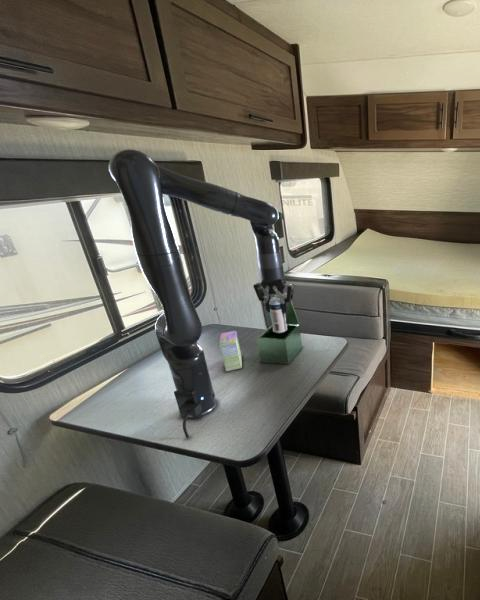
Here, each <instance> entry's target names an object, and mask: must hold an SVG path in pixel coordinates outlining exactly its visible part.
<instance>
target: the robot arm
mask: <svg viewBox="0 0 480 600" xmlns="http://www.w3.org/2000/svg"><path fill="white" fill-rule="evenodd" d="M108 172H109V173H110V176H111V178H112V179H113V180H114V181H115V183H116V184H117V186H118V189H119V191H120V193H121V195H122V199H123V201H124V203H125V206H126V208H127V211H128V215H129V219H130V229H131V230H130V231H131V237H132V244H133V248H134V251H135V254H136V258H137V261H138V265H139V268H140V270H141V272H142V275H143V276H144V278H145V280H146V282H147V283H148V285H149V287H150V288H151V290H152V291H153V292H154V294H155V295H156V297H157V299H158V300H159V302H160V305H161V307H162V311H163V312H162V313H161V314H160V315H159V317H157V319H156V322H155V326H154V333H155V335H156V339H157V342H158V344H159V347H160V350H161V353H162V355H163V358H164V359H165V360H166V362H167V364H168V367H169V370H170V374H171V377H172V380H173V383H174V387H175V390H174V391H173V395H174V398H175V400H176V404H177V408H178V411H179V414H180V417H181V418H183V421H182V430H183V434H184V436H185V438H187V439H188V438H189V437H190V435H189V433H188V432H189V431H188V430H187V420H188V419H201V417H203V416H205V415H207V414H209V413H211V412H212V411H213V410H214V409H216V407H217V404H218V402H217V398H216V392H215V391H214V387H213V383H212V379H211V375H210V372H209V371H210V370H209V368H208V367H209V366H208V362H207V359H206V354H205V352H204V349H203V348H202V346H201V345H200V344H199V343H198V341H199V340H200V338H201V336H202V334H203V325H202V322H201V319H200V316H199V314H198V311H197V309H196V307H195V304H194V302H193V299H192V295H191V292H190V287H189V284H188V283H189V282H188V280H187V276H186V272H185V268H184V263H183V259H182V255H181V252H180V248H179V244H178V240H177V238H176V235H175V233H174V229H173V227H172V224H171V221H170V219H169V216H168V213H167V211H166V210H167V209H166V206H165V201H164V195H166V196H170V197H174V198H177V199H179V200H183V201H186V202H189V203H192V204H194V205H197V206H200V207H203V208H206V209H208V210H211V211H214V212H218V213H220V214H223V215H228V216H230V217H235V218H240V219H244V220H247V221H249V224H250V228H251V231H252V234H253V236H254V239H255V248H256V255H257V256H256V257H257V258H256V259H257V265H258V271H259V279H260V280H261V281H260V282H256V283H255V284H253V286H252V287H253V289H254V292H255V294H256V296H257V298H258V301H259V302H261V301H262V302H263V303H264V302H265V304H264V306H265V310H266V312H267V313H268V314H269V313H270V307H269V302H270V299H271V297H273V296H272V295H274V296H275V295H277V296H278V298H280V300H281V302H282V304H281V306H282V313H286V312H287V311H288V302H290V301H291V300H293V299H294V293H295V284H294V283H291V284H289V283H287V282H286V280H285V271H284V261H283V257H282V253H281V247H280V240H279V236H278V234H277V233H276V232H275V230H274V227H273V225H275V224H276V223H277V222H278V220H279V217H280V216H279V211H278V209H277V208H276V206H275V205H273V203H270V202H268V201H264V200H261V199H257V198H253V197H252V196H251V197H250V196H247V195H245V194H242V193H239V192H237V191H235V190H231V189H229V188H226V187H223V186H220V185H218V184H215V183H211V182H207V181H204V180H200V179H196V178H193V177H189V176H186V175H183V174H180V173H177V172H176V171H172V170H171V169H167V168H165V167H164V166H162V165H159V164H157V163H156V162H155V161H154V159H152V158H151V157H150V155H147V153H144V152H143V151H140V150H136V149H131V148H130V149H129V148H128V149H123V150H119V151H117V152H116V153H114V154H113V155H112V156H111V158H109V161H108ZM286 293H287V297H286Z"/></svg>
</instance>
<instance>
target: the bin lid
mask: <svg viewBox="0 0 480 600" xmlns="http://www.w3.org/2000/svg"><path fill="white" fill-rule="evenodd" d="M285 293H286V297H287V292H285ZM273 298H278V296H277V295H275V294H274V296H271V299H273ZM292 300H293V299H292ZM292 300H291V301H290V302H288V311H287V312H286V313H285V315H286V322H287V324H291V325H300V320H299V318H298V314H297V312H296V309H295V306H294V303H293V301H292ZM263 304H264V305H265V302H264V301H263ZM268 315H269V317H270V318H271V314H270V313H268Z"/></svg>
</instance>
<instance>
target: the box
mask: <svg viewBox="0 0 480 600" xmlns="http://www.w3.org/2000/svg"><path fill="white" fill-rule="evenodd" d="M218 345H219V349H220V353H221V357H222V361H223V366H224V370H225V372H230V371H235V370H238V369H242V368H243V367H242V366H243V361H242V358H243V357H242V351H241V346H240V342H239V337H238V333H237V330H231V331H226V332H221V333H220V337H219V344H218Z"/></svg>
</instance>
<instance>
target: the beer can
mask: <svg viewBox="0 0 480 600" xmlns="http://www.w3.org/2000/svg"><path fill="white" fill-rule="evenodd" d="M281 304H282V302H281V300H280V298H273V299H270V302H269V307H270V314H271V317H270V320H271V325H272V326H273V331H274V332H275V333H283V332H285V331H286V330H287V322H286V315H285V313H282V306H281Z"/></svg>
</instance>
